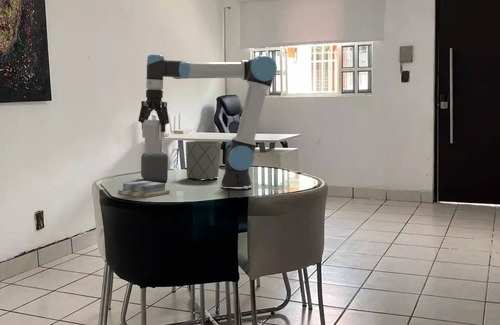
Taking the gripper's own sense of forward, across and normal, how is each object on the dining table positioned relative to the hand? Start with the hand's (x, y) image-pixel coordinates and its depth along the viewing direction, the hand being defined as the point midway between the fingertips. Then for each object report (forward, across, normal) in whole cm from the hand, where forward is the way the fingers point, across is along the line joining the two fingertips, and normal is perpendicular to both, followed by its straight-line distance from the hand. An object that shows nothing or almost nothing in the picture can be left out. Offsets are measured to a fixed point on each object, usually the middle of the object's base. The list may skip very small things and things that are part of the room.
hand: (152, 138), depth 260 cm
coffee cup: (+7, 0, 0) cm, 7 cm away
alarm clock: (+24, -22, +25) cm, 41 cm away
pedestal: (+24, +4, -9) cm, 26 cm away
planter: (+24, -9, +50) cm, 56 cm away
